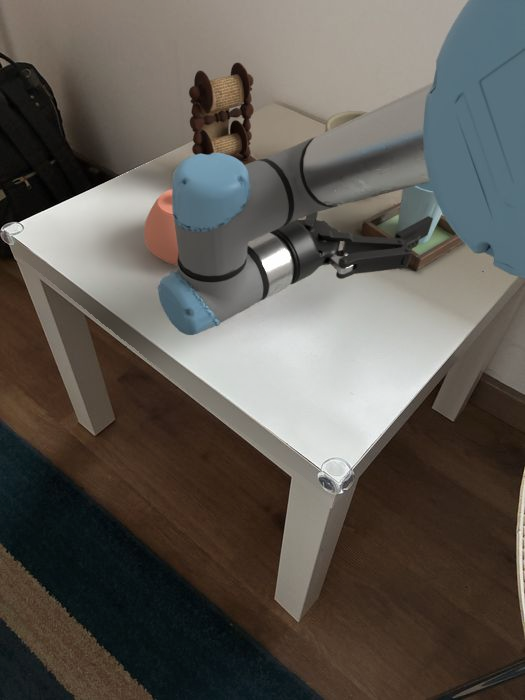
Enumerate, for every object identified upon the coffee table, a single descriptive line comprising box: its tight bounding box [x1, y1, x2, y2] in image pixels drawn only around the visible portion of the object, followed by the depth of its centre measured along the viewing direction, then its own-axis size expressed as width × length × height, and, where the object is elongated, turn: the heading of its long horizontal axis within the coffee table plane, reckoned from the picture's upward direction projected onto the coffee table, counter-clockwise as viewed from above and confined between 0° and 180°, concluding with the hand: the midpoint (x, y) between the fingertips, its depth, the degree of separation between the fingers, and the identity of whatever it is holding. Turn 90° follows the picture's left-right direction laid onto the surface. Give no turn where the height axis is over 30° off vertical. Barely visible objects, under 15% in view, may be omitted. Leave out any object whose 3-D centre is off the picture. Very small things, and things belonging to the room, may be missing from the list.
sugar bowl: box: [143, 188, 178, 266], centre depth 82 cm, size 12×14×10 cm
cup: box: [397, 182, 443, 244], centre depth 85 cm, size 8×8×10 cm
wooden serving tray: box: [360, 201, 464, 272], centre depth 88 cm, size 12×12×2 cm
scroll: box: [188, 62, 258, 165], centre depth 90 cm, size 15×15×20 cm
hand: (391, 202), depth 76 cm, fingers open, 13 cm apart
